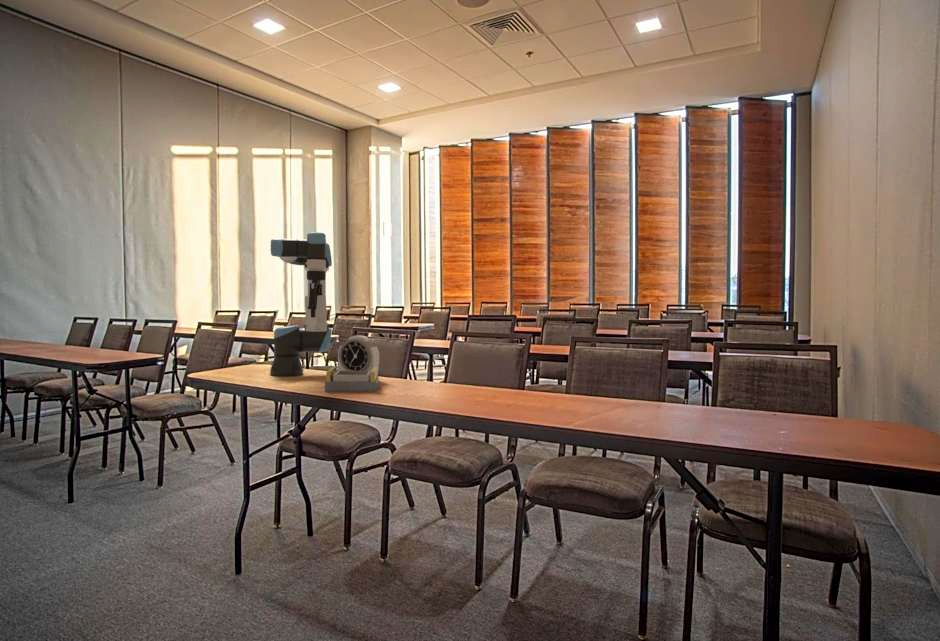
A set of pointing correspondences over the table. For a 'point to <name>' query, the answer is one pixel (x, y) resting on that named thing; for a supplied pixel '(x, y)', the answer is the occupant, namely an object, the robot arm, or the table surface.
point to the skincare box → (320, 314)
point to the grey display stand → (351, 381)
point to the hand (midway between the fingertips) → (316, 325)
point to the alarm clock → (358, 355)
